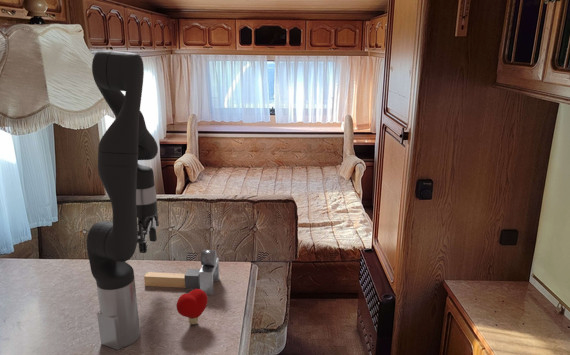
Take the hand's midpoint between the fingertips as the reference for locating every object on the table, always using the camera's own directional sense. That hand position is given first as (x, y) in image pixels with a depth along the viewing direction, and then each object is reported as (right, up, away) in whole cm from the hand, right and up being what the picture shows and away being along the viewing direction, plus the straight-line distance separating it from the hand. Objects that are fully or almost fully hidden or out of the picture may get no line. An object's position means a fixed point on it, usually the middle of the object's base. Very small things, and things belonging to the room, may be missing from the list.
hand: (148, 246), depth 139 cm
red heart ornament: (+18, -20, -17) cm, 32 cm away
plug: (+7, -13, +3) cm, 16 cm away
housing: (+20, -14, +2) cm, 24 cm away
